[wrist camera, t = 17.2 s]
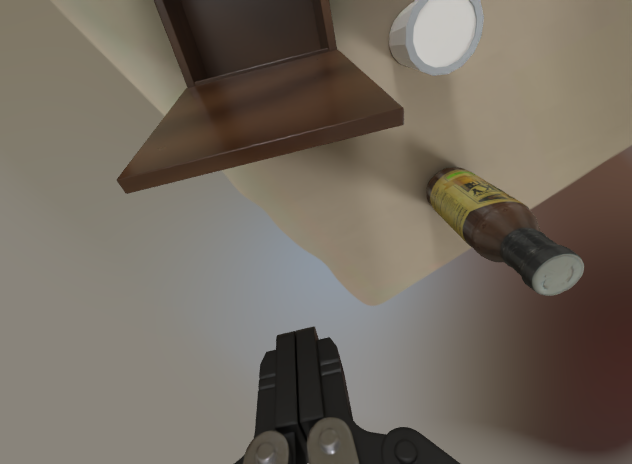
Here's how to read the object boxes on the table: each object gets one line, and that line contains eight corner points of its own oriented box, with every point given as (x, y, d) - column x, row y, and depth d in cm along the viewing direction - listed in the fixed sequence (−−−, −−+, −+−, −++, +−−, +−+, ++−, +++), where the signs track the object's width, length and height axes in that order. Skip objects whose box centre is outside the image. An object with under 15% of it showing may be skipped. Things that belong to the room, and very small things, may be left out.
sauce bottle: (479, 173, 41) (623, 256, 24) (453, 214, 44) (566, 316, 26) (438, 157, 39) (559, 232, 22) (413, 200, 42) (505, 299, 25)
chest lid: (115, 179, 14) (125, 194, 15) (404, 107, 14) (404, 124, 14) (185, 88, 27) (190, 97, 27) (337, 49, 27) (339, 59, 27)
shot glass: (449, 61, 34) (485, 61, 28) (389, 82, 35) (411, 86, 29) (444, -14, 31) (483, -33, 25) (377, 9, 31) (399, -4, 25)
